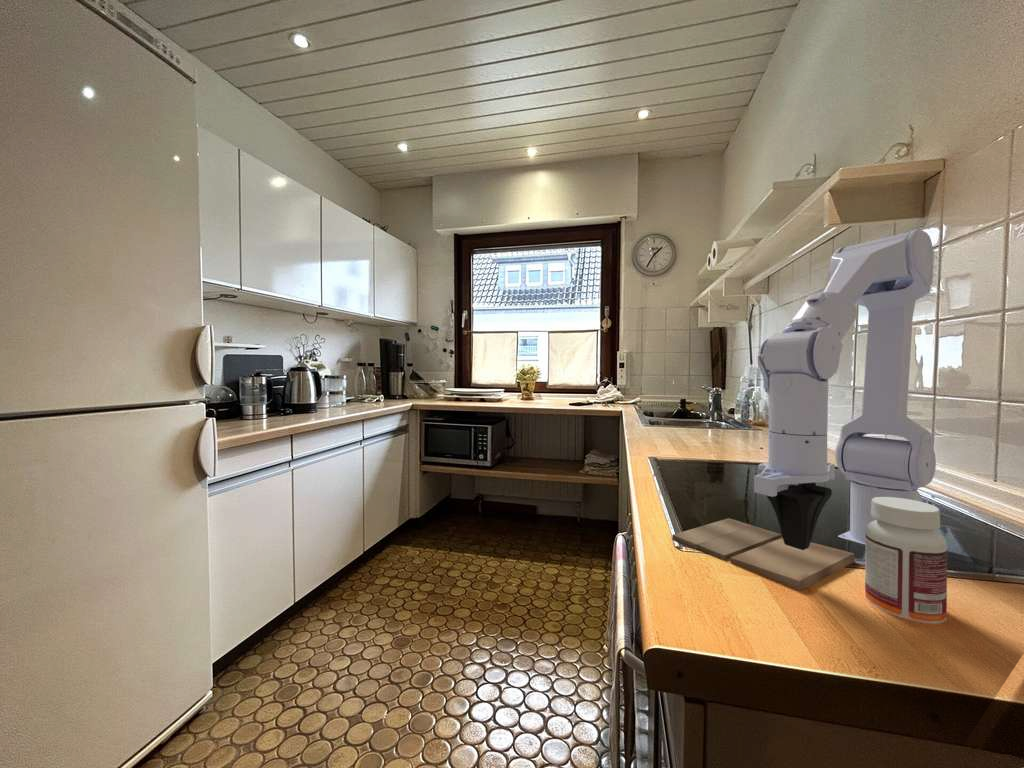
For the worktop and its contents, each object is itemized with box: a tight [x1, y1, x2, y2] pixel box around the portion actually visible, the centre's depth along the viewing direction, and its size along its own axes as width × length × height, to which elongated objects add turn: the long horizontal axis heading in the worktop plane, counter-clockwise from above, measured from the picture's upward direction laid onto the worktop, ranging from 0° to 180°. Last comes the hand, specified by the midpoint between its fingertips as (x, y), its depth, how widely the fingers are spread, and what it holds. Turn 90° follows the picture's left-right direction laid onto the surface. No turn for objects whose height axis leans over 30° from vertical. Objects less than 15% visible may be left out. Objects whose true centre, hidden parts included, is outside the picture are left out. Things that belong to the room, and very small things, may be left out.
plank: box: [729, 537, 855, 592], centre depth 52 cm, size 14×8×1 cm, turn 120°
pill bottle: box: [864, 497, 949, 624], centre depth 42 cm, size 6×6×11 cm
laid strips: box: [671, 517, 782, 561], centre depth 60 cm, size 14×9×1 cm, turn 120°
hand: (796, 546), depth 49 cm, fingers closed
